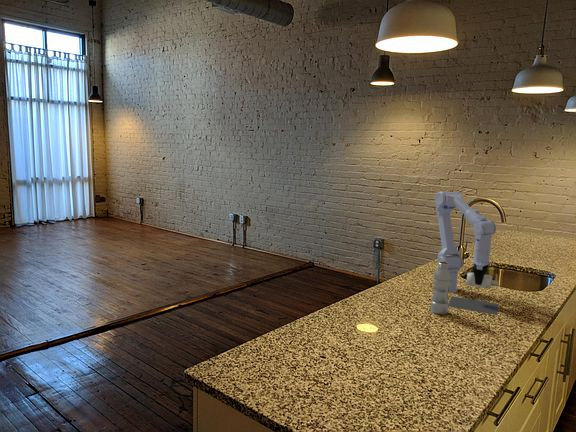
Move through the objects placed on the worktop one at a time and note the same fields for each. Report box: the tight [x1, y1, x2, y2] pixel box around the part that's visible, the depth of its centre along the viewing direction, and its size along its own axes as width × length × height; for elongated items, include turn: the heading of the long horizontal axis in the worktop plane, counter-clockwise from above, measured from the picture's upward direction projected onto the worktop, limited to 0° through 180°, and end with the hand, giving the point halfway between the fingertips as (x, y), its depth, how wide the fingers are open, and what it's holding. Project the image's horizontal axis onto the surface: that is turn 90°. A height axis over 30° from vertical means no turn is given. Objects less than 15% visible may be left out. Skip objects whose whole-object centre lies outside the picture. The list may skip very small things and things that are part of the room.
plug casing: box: [465, 271, 500, 289], centre depth 180 cm, size 12×4×4 cm, turn 63°
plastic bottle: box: [429, 262, 452, 315], centre depth 168 cm, size 6×7×20 cm
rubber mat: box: [448, 295, 499, 316], centre depth 179 cm, size 18×14×1 cm
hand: (478, 282), depth 181 cm, fingers closed on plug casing, 4 cm apart
